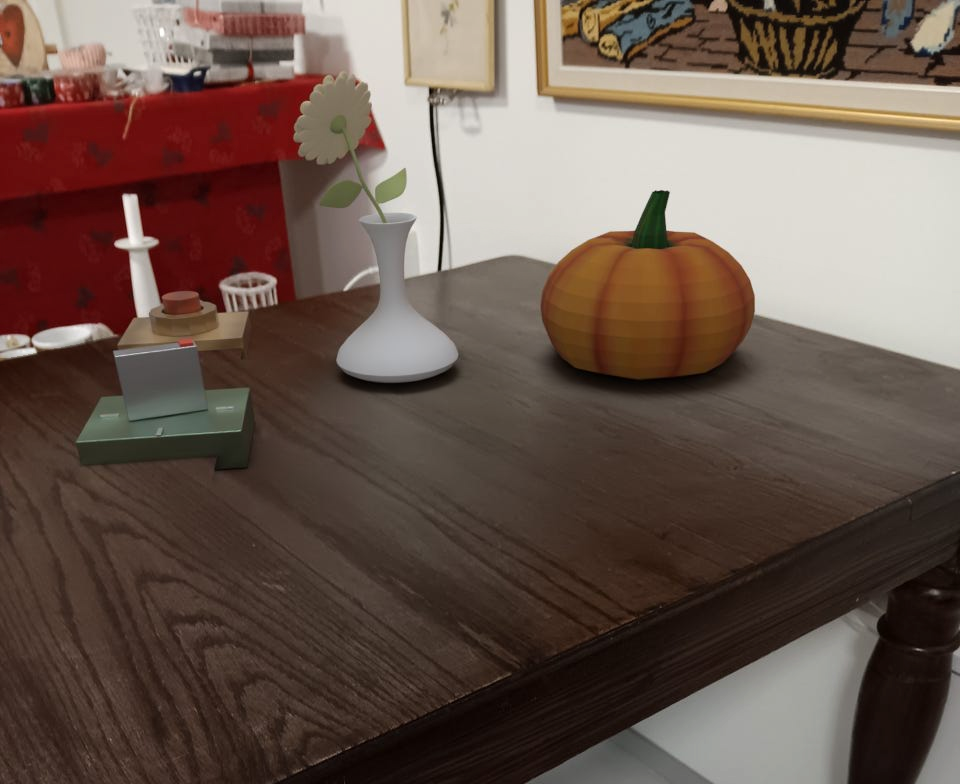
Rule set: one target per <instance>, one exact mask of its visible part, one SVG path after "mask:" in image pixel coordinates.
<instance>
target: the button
mask: <svg viewBox="0 0 960 784" xmlns="http://www.w3.org/2000/svg"><path fill="white" fill-rule="evenodd" d="M161 301H162V305H163V307H164V312H165V314H169V315H183V314H190V313H196V312H199V311H201V305H200V301H201V300H200V295H199V293H198V292H196V291H193V290H181V291H173V292H167V293H165V294H163V295H162V296H161Z"/></svg>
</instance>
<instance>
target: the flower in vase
mask: <svg viewBox="0 0 960 784" xmlns="http://www.w3.org/2000/svg"><path fill="white" fill-rule="evenodd" d="M356 83H357V81H356V75H355V73H350V74H349V73H348V72H347V71H345V70H343V71H341V72H340V73H339V74H338V76H337V77H336V78H335V79H334V77H333V76H332V75H331V74H328V75H326V76H325V77H324V78H323V80H322V83H319V84H316V85H315V86H314V87H313V91H312V92H311V93H310V95H309V100H305V101H303V102H302V103H301V104H300V107H299V111H300V113H301V114H302V115H300V116H299V117H297V119H296V122H295V123H294V125H293V129H294V134H293V137H292V139H293V141H294V142H295V143H298V144H299V143H301V144H300V145H299V147H298V150H297V154H298V156H299V157H300V158H301V157H302V158H304V157H305V160H306V161H314V160H315V159H316V165H322V166H324V165H326V164H328V165H332V164H333V163H334V162H336V160H337V159H338V160H339V159H340V160H341V159H343V158H344V157H345V156H346V154H347V153H348V152H350V155H351V157H352V160H353V163H354V167H355V170H356V173H357V177H358V180H359V182H360V183H359V182H357V181H354V180H352V179H347V178H345V179H341V180H339V181H337V182H336V183H334V184H332V185H331V186H330V187H329V188H328V189H327V190H326V191H325V193H323V195H322V197H321V199H320V201H319V203H318V206H320V207H326V208H327V207H328V208H335V209H345V208H348V207H349V206H351V205H352V204H353V203H354V202H355V201H356V199H357V198H358V197H359V195H360V194H361V192H362V189H363V190H364V192H365V193H366V195H367V197H368V198H369V200H370V202H371V203H372V204H373V206H374V208H375V209H376V211H377V213H372V214H367V215H363V216H361V217H359V218H358V221H359V223H360V224H361V225H362V227H363V228H364V229H365V231H366V233H367V234H368V236H369V238H370V239H369V240H370V241H371V243H372V246H373V249H374V250H373V251H374V253H375V257H376V262H377V267H378V276H379V301H378V304H377V307H376V308H375V310H374V311H373V313H372V314H370V315H369V317H368V318H367V319H366V320H365V321H364V322H363V323H361V324H360V325H359V326H358V327H357V328H356V329H355V330H354V331H353V332H352V333H351V334H350V335H349V336H348V337H347V338H346V340H345V341H344V342H343V343H342V345H341V346H340V347H339V349H338V351H337V357H336V359H335V360H336V364H337V366H338V367H339V368H340V369H341V370H342V371H343V372H344V373H345V374H346V375H349V376H351V377H354V378H355V379H360V380H363V381H367V382H372V383H383V384H398V383H399V384H402V383H410V382H412V383H413V382H418V381H422V380H426V379H429V378H433V377H435V376H439V375H440V374H442V373H444V372H446V371H448V370H449V369H451V368H453V366H454V364H455V363H456V362H457V360H458V357H459V352H458V349H457V347H456V344H455V342H454V341H453V340H452V339H451V338H450V337H449V336H448V335H447V334H446V333H444V332H443V331H442V330H441V329H439V327H437V326H436V325H435V324H433V323H432V322H431V321H429V320H428V319H426V318H425V317H423V316H422V315H421V314H420V313H419V312H417V311H416V310H415V308H414V307H413V306H412V305H411V303H410V301H409V299H408V294H407V291H406V283H405V258H406V257H405V254H406V246H407V241H408V238H409V233H410V232H411V230H412V227H413V226H414V224H415V222H416V221H417V219H418V218H417V216H416V215H415V214H412V213H407V212H383V210H382V209H381V207H380V205H379V204H385V203H388V202H390V201H392V200H396V199H398V198H399V197H401V196H402V195H403V194H404V192H405V190H406V188H407V182H408V181H407V179H408V178H407V168H406V167H404V168H402V169H401V170H400V171H398V172H397V173H395V174H394V175H392V176H391V177H389V178H387V179H385V180H383V181H381V182H380V183H378V184H377V185H376V186H375V188H374V195H375V196H374V195H373V194H372V193H371V191H370V189H369V188H368V185H367V184H366V181H365V180H364V177H363V174H362V171H361V167H360V164H359V161H358V158H357V154H356V151H355V150H356V149H357V147H358V146H359V143H360V141H359V140H360V139H362V138H363V137H364V136H365V133H366V129H367V128H368V127H370V125H371V123H372V118H371V117H370V114H371V110H372V107H373V104H372V102H371V101H370V98H371V95H372V93H371V91H370V90H369V85H368V83H367V82H364V81H360V82H359V83H358V84H357V85H356Z"/></svg>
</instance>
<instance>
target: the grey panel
mask: <svg viewBox="0 0 960 784" xmlns="http://www.w3.org/2000/svg"><path fill="white" fill-rule="evenodd" d="M112 354H113V357H114V363H115V367H116V371H117V377H118V380H119V385H120V390H121V393H122V394H121V395H122V396H123V399H124V403H125V407H126V412H127V416H128V419H129V421H133V420H140V419H146V418H153V417H160V416H166V415H173V414H180V413H187V412H193V411H200V410H207V409H208V406H207V400H206V395H205V390H206V389H205V385H204V384H205V383H204V378H203V374H202V367H201V362H200V357H199V351H198V350H197V346H196V344H195V342H194V341H192V339H191V338H188V339H180V340H178V343H171V344H163V345H155V346H147V347H139V348H131V349H124V350H118V349H116V350H113V351H112Z"/></svg>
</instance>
